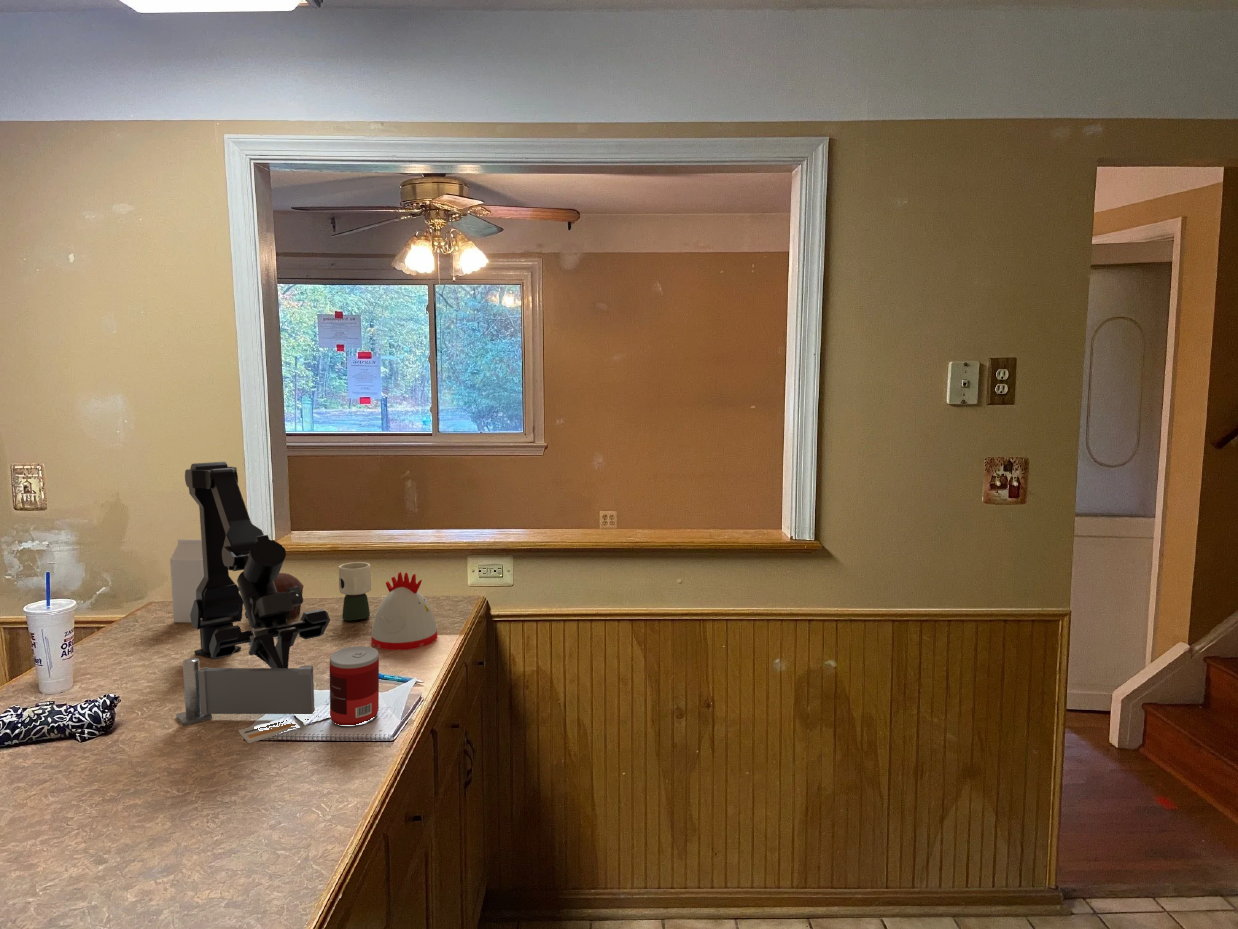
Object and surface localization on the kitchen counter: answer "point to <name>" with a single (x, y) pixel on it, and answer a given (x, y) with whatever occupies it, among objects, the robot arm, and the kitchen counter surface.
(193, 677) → the hinge post
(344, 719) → the canned food
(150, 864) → the kitchen counter surface
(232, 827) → the kitchen counter surface
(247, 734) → the label plate beige
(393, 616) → the kitchen timer
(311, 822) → the kitchen counter surface
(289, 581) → the muffin
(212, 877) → the kitchen counter surface
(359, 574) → the character mug
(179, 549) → the milk carton
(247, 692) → the hinge panel
